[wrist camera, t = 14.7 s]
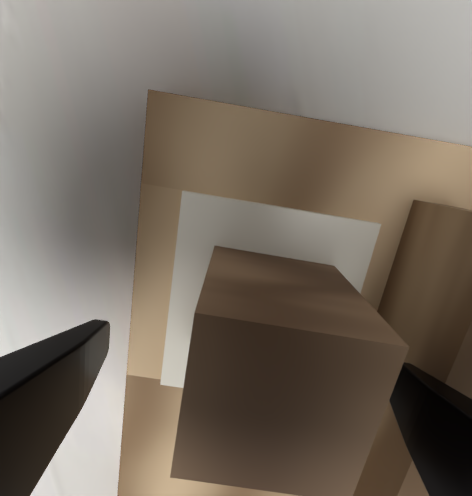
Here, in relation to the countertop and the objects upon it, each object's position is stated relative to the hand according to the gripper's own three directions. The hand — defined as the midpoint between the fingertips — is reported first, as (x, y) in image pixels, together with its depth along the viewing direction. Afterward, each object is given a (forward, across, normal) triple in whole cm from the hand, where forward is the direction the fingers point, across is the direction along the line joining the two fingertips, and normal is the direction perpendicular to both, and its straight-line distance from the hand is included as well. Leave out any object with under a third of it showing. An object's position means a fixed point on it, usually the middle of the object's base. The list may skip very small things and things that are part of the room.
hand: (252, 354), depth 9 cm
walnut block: (+3, -1, 0) cm, 3 cm away
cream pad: (+3, 0, 0) cm, 3 cm away
